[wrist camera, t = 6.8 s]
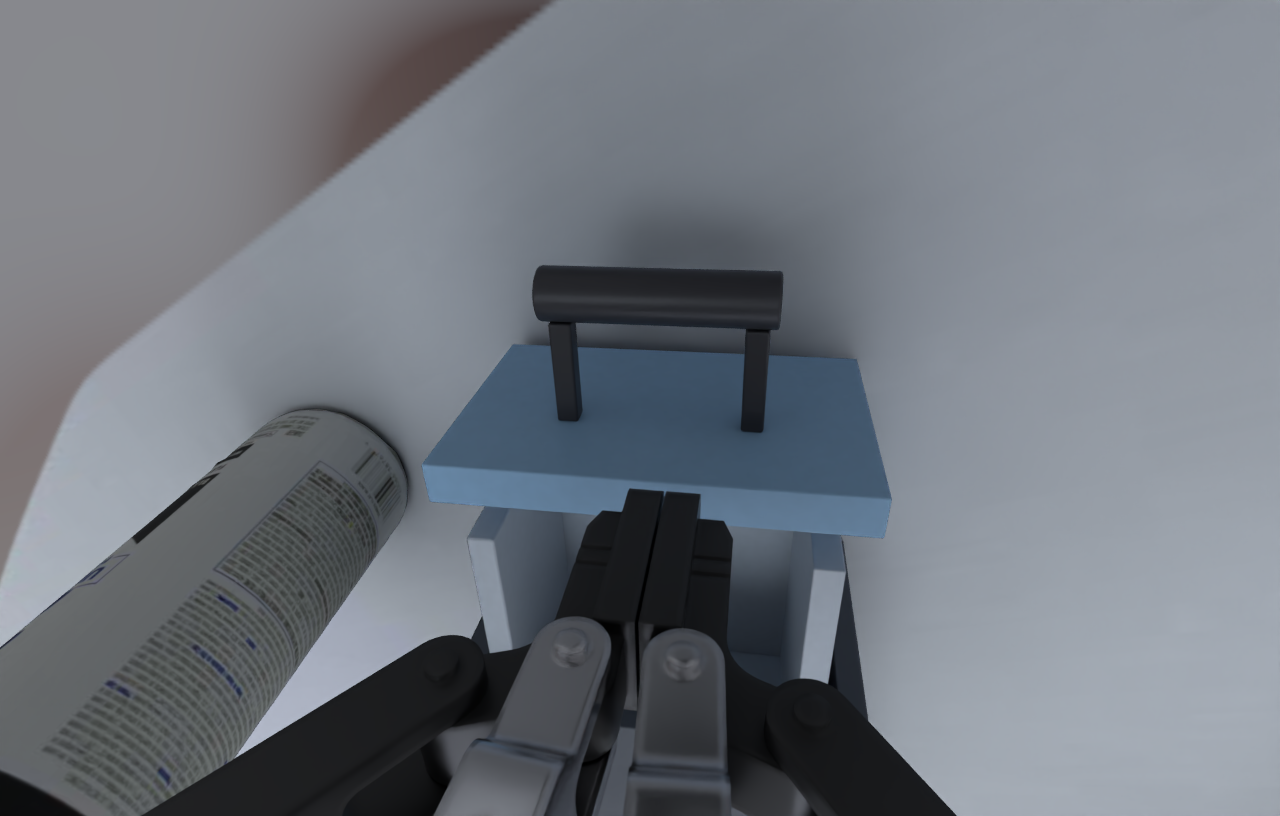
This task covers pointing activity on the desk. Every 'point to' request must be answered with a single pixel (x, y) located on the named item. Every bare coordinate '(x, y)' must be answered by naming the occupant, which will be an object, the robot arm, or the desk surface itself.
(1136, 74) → the desk surface
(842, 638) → the dark grey open box
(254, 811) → the robot arm
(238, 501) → the spray can
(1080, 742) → the desk surface
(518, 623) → the blue drawer
